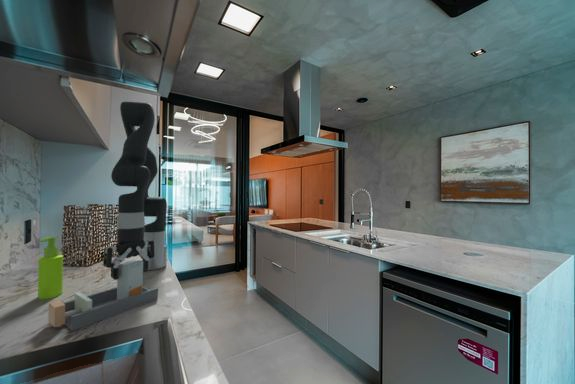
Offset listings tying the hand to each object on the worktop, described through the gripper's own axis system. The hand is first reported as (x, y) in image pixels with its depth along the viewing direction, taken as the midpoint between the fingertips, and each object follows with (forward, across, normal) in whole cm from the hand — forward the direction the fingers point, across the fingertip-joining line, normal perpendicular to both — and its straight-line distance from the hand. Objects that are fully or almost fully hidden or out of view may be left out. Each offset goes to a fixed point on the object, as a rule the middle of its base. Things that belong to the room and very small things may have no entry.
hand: (130, 275), depth 77 cm
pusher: (+7, +15, 0) cm, 17 cm away
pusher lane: (+8, +5, 0) cm, 10 cm away
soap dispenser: (+9, +13, -26) cm, 30 cm away
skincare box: (+8, 0, 0) cm, 8 cm away
